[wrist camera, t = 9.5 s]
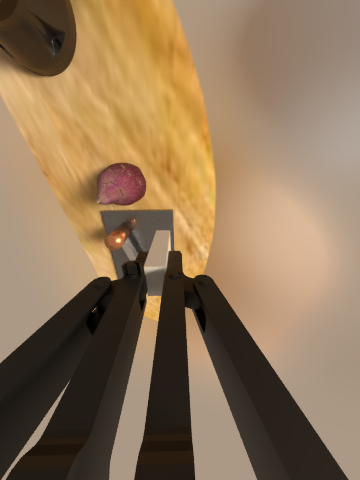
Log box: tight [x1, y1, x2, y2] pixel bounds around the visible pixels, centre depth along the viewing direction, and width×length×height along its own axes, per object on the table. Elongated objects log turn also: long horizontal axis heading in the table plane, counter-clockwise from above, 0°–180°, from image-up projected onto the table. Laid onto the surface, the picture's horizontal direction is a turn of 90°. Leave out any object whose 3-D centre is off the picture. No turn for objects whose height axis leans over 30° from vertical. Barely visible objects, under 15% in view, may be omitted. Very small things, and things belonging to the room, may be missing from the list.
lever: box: [105, 226, 138, 261], centre depth 41 cm, size 22×5×7 cm, turn 20°
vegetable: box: [96, 163, 146, 205], centre depth 33 cm, size 10×10×15 cm
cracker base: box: [101, 209, 174, 279], centre depth 43 cm, size 25×20×7 cm
